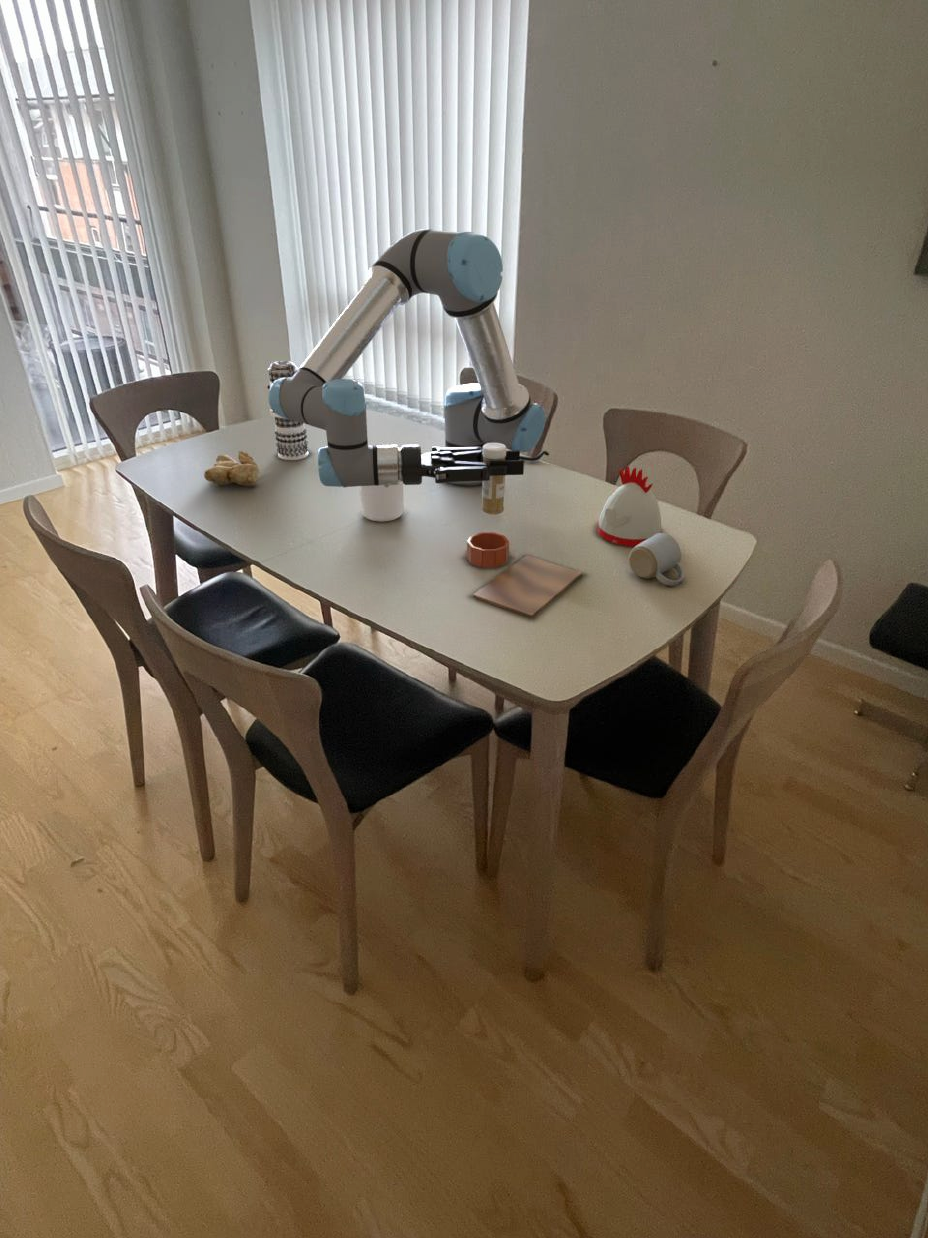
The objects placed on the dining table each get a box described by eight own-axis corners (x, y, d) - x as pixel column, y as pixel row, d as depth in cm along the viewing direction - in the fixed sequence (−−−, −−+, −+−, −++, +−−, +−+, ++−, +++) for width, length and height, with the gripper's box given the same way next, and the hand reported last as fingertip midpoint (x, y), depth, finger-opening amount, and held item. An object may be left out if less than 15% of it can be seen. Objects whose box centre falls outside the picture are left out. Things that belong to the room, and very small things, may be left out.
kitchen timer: (621, 514, 175) (629, 452, 167) (672, 532, 167) (683, 469, 159) (585, 531, 167) (591, 468, 159) (636, 552, 158) (646, 486, 150)
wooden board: (526, 557, 156) (526, 555, 156) (581, 575, 150) (582, 572, 150) (473, 597, 142) (473, 594, 142) (531, 618, 136) (531, 615, 136)
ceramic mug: (623, 572, 151) (628, 538, 147) (648, 559, 155) (654, 526, 151) (666, 593, 144) (673, 558, 140) (691, 579, 149) (698, 545, 145)
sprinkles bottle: (506, 514, 147) (509, 448, 140) (484, 516, 146) (485, 450, 139) (500, 505, 151) (502, 440, 144) (478, 506, 150) (480, 442, 143)
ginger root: (246, 493, 180) (235, 461, 177) (195, 499, 186) (184, 468, 183) (280, 473, 193) (271, 443, 189) (232, 479, 199) (221, 450, 195)
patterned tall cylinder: (306, 460, 203) (296, 367, 190) (273, 460, 203) (260, 366, 190) (313, 449, 211) (303, 358, 197) (280, 448, 211) (269, 358, 197)
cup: (397, 525, 169) (395, 484, 163) (355, 521, 170) (352, 480, 165) (409, 507, 177) (407, 468, 172) (369, 504, 179) (366, 464, 173)
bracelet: (481, 545, 161) (481, 528, 159) (515, 556, 157) (516, 539, 154) (459, 560, 155) (459, 543, 153) (494, 571, 151) (494, 554, 149)
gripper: (400, 467, 151) (514, 464, 153) (402, 501, 136) (527, 498, 138) (399, 431, 147) (515, 428, 149) (400, 463, 132) (529, 459, 134)
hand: (521, 462), depth 144 cm, fingers closed on sprinkles bottle, 5 cm apart
